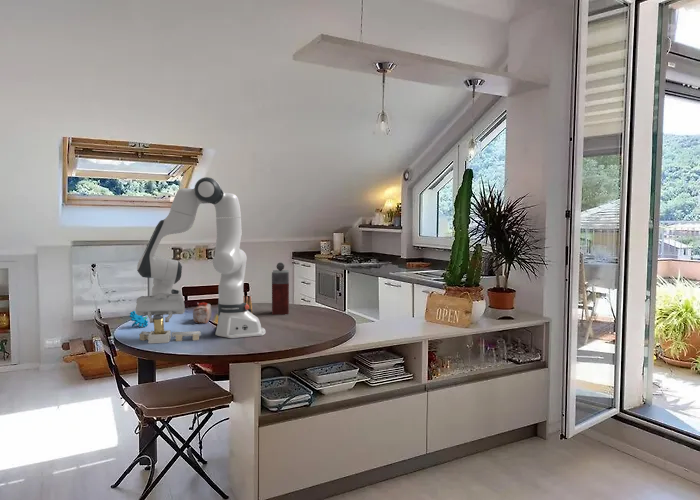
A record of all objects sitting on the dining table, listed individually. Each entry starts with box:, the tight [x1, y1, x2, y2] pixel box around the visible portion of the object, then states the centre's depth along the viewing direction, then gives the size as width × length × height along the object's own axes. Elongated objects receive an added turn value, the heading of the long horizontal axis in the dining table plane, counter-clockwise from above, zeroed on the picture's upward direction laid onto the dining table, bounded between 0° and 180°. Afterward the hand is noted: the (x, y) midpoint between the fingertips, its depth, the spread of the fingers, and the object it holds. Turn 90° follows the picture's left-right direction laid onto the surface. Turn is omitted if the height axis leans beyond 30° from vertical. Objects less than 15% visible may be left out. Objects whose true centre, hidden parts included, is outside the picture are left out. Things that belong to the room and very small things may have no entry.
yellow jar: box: [152, 314, 165, 335], centre depth 228 cm, size 4×4×10 cm
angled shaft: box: [139, 330, 151, 341], centre depth 231 cm, size 4×4×4 cm
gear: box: [129, 310, 149, 328], centre depth 257 cm, size 11×6×10 cm
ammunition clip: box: [243, 295, 253, 314], centre depth 278 cm, size 11×2×12 cm, turn 88°
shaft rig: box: [147, 330, 202, 344], centre depth 230 cm, size 21×8×4 cm, turn 102°
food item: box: [192, 301, 212, 324], centre depth 270 cm, size 14×8×10 cm, turn 7°
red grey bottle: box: [271, 261, 290, 316], centre depth 293 cm, size 9×11×28 cm
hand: (159, 321), depth 228 cm, fingers open, 5 cm apart
